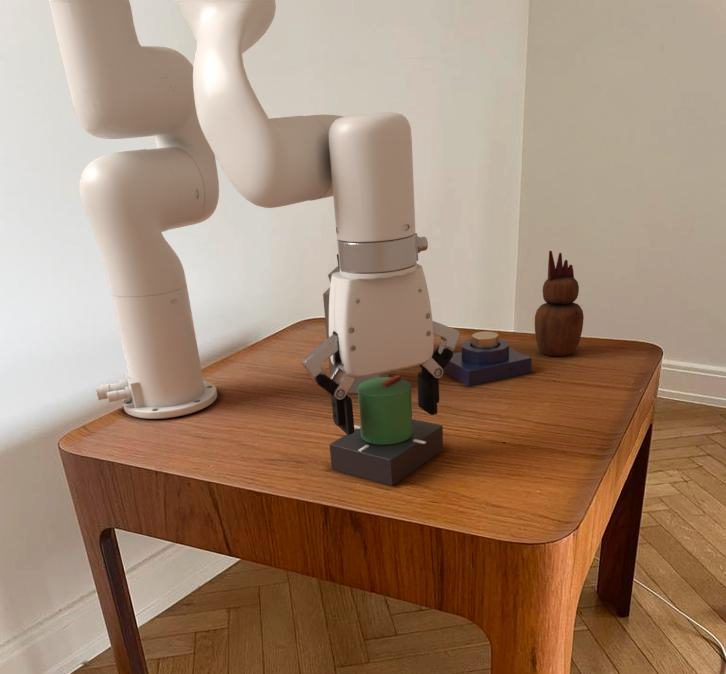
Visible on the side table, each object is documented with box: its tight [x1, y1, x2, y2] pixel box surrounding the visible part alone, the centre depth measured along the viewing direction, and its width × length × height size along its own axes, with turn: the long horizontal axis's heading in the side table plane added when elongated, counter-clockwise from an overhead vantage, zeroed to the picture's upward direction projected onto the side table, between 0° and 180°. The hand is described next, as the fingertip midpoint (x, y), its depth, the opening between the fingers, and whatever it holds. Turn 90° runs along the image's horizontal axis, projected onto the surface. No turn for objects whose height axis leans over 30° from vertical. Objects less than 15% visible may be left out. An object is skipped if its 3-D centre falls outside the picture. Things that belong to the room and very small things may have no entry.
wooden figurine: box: [534, 250, 585, 358], centre depth 107 cm, size 7×6×15 cm
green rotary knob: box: [357, 374, 413, 445], centre depth 79 cm, size 6×6×6 cm
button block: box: [443, 338, 532, 387], centre depth 105 cm, size 10×8×4 cm
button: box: [471, 331, 499, 349], centre depth 103 cm, size 4×4×2 cm
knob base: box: [329, 417, 444, 487], centre depth 81 cm, size 10×10×3 cm
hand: (387, 420), depth 80 cm, fingers open, 9 cm apart
